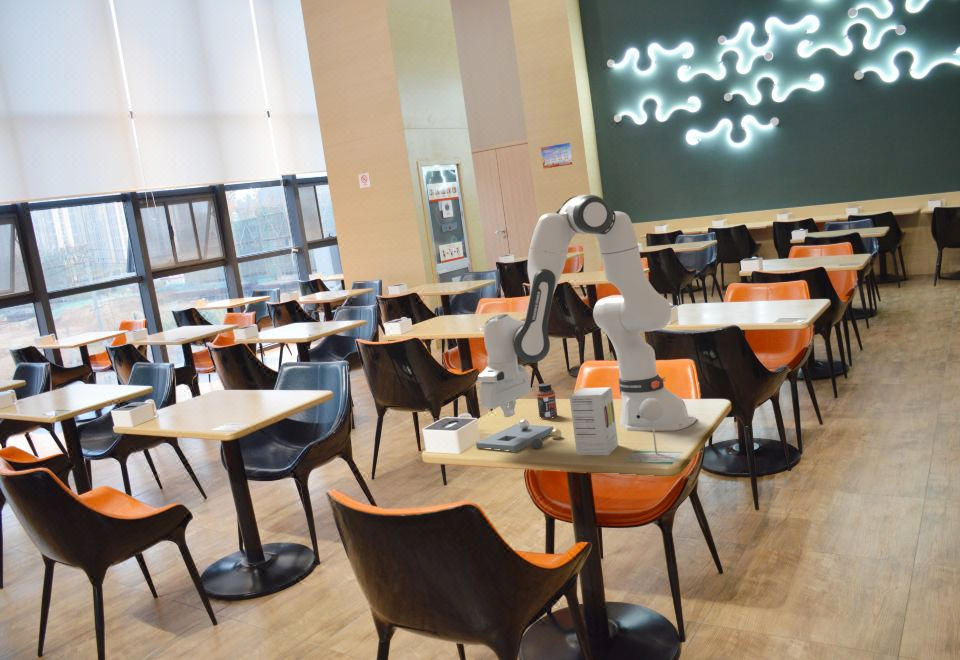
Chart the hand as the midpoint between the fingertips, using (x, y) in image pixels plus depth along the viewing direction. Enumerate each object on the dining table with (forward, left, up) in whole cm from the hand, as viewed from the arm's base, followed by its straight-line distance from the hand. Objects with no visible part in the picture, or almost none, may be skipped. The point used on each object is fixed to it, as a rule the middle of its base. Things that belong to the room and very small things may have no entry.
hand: (509, 416), depth 235 cm
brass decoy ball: (-11, -7, -7) cm, 15 cm away
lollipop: (-46, -1, -9) cm, 47 cm away
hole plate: (0, -1, -9) cm, 9 cm away
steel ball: (0, -6, -4) cm, 8 cm away
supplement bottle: (+6, -28, -9) cm, 30 cm away
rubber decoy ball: (-11, +3, -7) cm, 13 cm away
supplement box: (-29, 0, -9) cm, 30 cm away
